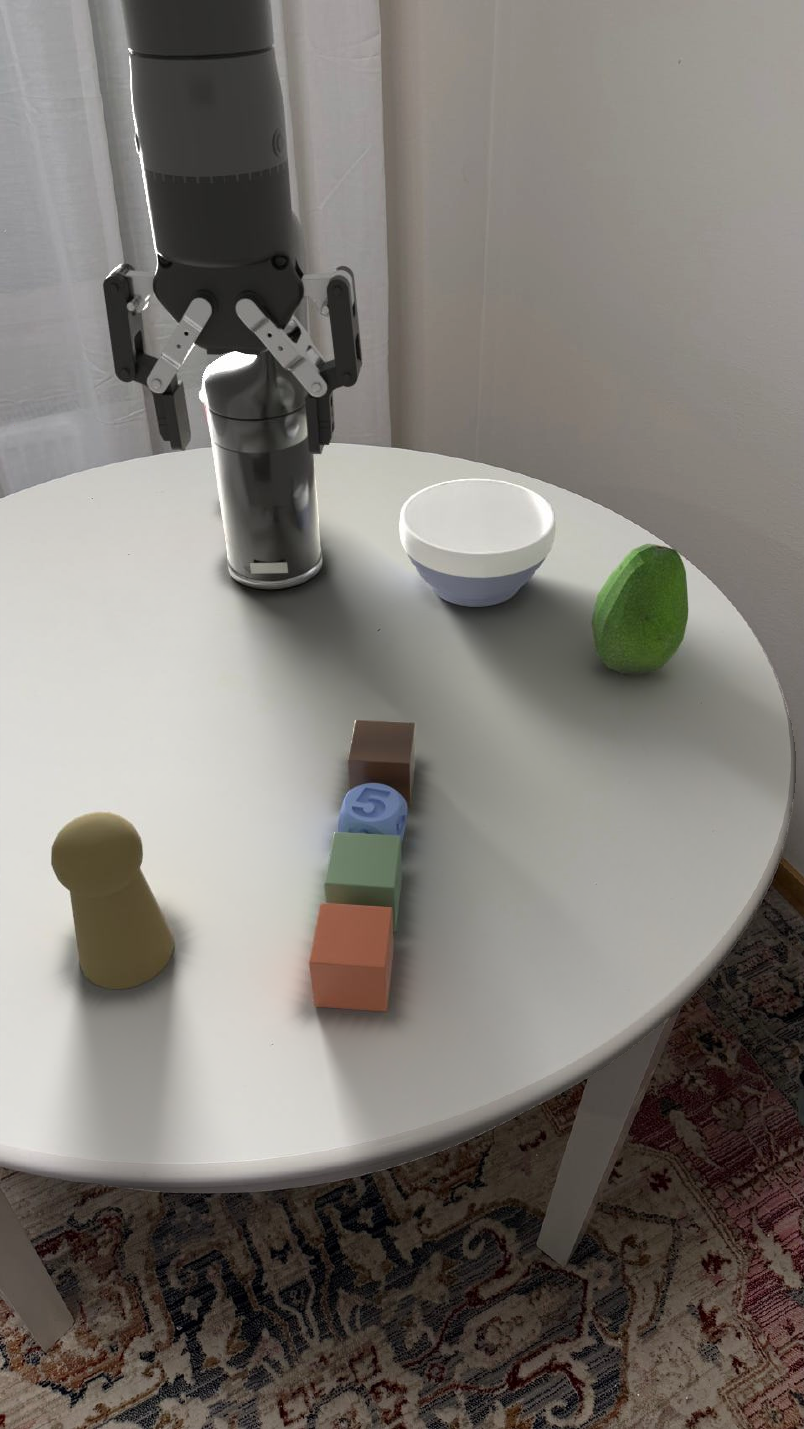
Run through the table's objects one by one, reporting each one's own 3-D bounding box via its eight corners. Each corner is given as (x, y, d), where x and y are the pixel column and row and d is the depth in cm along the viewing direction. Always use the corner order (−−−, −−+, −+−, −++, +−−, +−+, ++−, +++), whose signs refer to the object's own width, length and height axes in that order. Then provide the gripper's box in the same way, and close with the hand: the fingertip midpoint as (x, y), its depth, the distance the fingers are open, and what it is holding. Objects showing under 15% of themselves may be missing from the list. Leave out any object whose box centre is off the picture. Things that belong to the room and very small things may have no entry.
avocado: (692, 686, 85) (719, 565, 77) (604, 699, 84) (623, 577, 76) (655, 633, 91) (676, 515, 83) (572, 644, 90) (587, 526, 82)
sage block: (337, 876, 70) (333, 831, 67) (402, 879, 69) (401, 835, 66) (328, 928, 66) (323, 883, 63) (395, 932, 66) (394, 887, 63)
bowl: (539, 543, 103) (545, 475, 99) (560, 624, 92) (568, 553, 87) (398, 547, 103) (397, 479, 98) (402, 629, 92) (401, 557, 87)
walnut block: (357, 763, 78) (355, 719, 76) (415, 766, 78) (414, 722, 75) (350, 804, 75) (347, 760, 72) (410, 807, 75) (409, 763, 72)
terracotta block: (324, 946, 65) (320, 902, 62) (393, 951, 65) (392, 906, 62) (313, 1006, 62) (308, 962, 59) (386, 1012, 61) (385, 967, 58)
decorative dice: (408, 826, 73) (407, 787, 71) (392, 867, 70) (392, 827, 68) (355, 816, 74) (353, 777, 71) (338, 856, 71) (335, 816, 69)
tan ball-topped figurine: (87, 916, 67) (47, 799, 60) (178, 909, 68) (149, 793, 61) (72, 993, 63) (27, 877, 56) (169, 985, 63) (138, 869, 56)
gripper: (360, 138, 54) (370, 424, 65) (102, 137, 55) (153, 419, 66) (341, 171, 48) (355, 479, 59) (54, 169, 49) (118, 472, 60)
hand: (248, 447), depth 62 cm, fingers open, 8 cm apart
